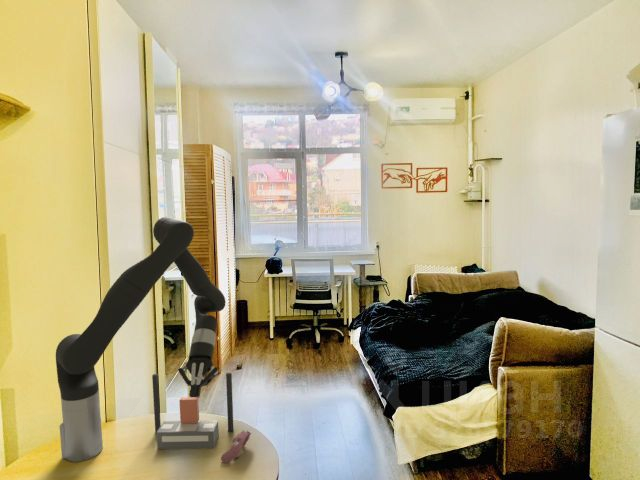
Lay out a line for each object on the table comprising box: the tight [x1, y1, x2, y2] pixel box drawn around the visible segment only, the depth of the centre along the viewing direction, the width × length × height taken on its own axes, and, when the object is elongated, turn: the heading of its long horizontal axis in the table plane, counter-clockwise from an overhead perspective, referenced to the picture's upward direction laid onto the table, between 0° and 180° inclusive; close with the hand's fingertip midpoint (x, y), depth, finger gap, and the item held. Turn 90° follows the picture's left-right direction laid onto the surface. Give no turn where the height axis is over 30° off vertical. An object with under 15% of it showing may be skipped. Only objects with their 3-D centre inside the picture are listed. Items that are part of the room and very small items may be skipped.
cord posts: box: [151, 372, 235, 434], centre depth 132 cm, size 24×2×18 cm, turn 90°
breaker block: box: [155, 420, 220, 450], centre depth 126 cm, size 16×6×5 cm, turn 90°
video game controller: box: [220, 429, 252, 464], centre depth 121 cm, size 10×5×7 cm, turn 169°
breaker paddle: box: [179, 396, 200, 423], centre depth 128 cm, size 5×2×7 cm, turn 90°
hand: (194, 398), depth 133 cm, fingers closed
